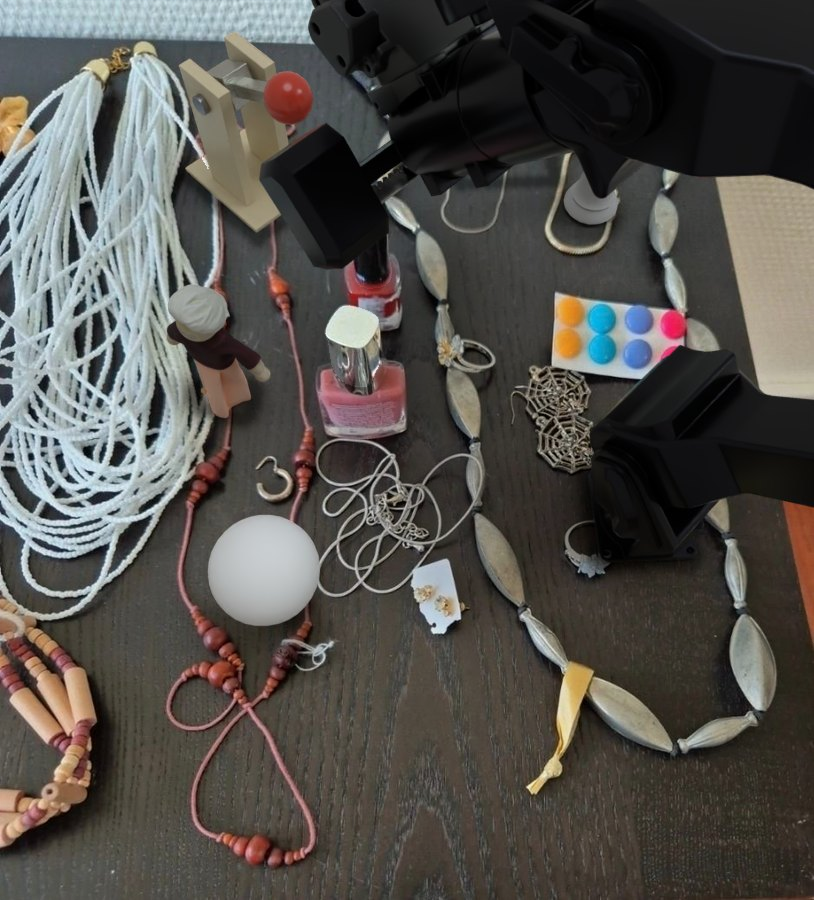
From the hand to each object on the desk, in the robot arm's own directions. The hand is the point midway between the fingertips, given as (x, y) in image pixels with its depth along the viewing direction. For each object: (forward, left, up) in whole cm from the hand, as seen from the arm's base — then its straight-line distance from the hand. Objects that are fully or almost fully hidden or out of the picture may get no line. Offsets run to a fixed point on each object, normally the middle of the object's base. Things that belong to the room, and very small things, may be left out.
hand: (356, 150), depth 49 cm
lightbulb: (-25, +6, -14) cm, 29 cm away
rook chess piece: (+6, -18, -14) cm, 23 cm away
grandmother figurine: (-10, +10, -14) cm, 20 cm away
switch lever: (+7, +6, -3) cm, 10 cm away
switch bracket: (+10, +9, -13) cm, 19 cm away
